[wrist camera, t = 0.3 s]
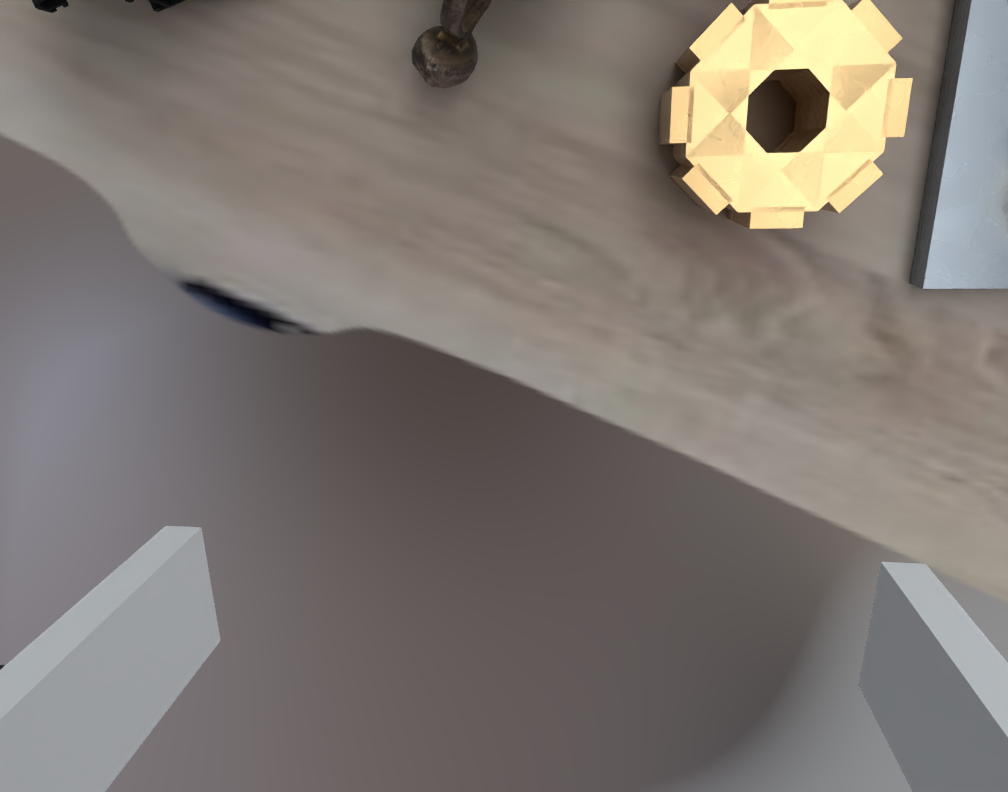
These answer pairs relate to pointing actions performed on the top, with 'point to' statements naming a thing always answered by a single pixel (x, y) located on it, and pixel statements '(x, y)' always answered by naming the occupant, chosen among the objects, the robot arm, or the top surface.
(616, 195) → the top surface
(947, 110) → the carrier
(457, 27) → the mechanical counter
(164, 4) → the extrusion
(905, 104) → the gear
